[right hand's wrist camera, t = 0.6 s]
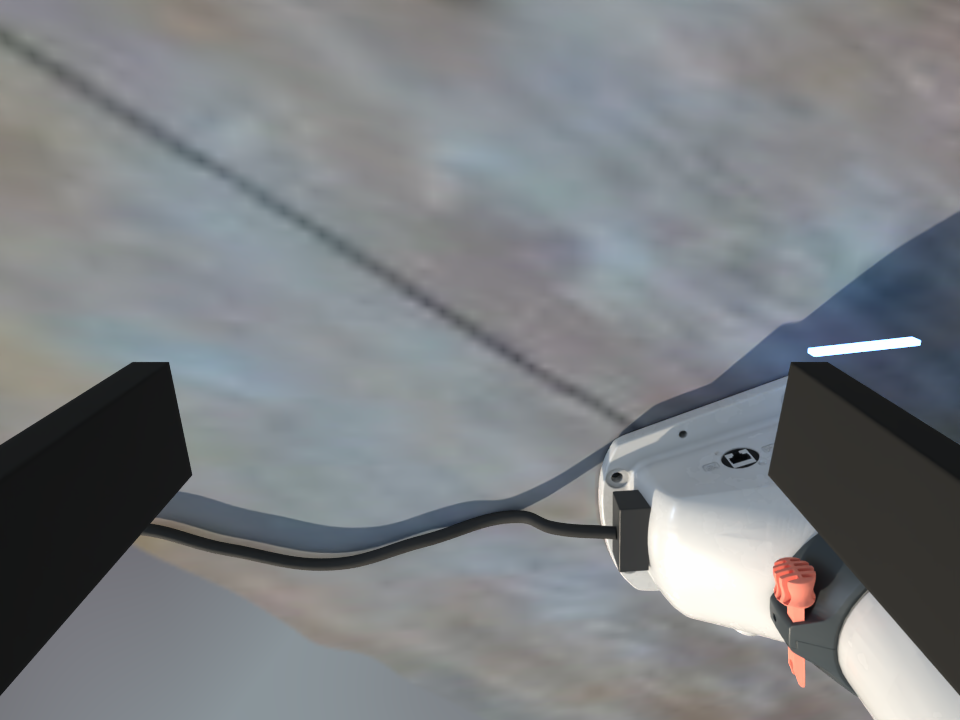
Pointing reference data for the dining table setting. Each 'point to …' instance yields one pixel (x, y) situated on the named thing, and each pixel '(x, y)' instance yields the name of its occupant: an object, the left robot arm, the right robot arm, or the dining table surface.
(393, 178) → the dining table surface
